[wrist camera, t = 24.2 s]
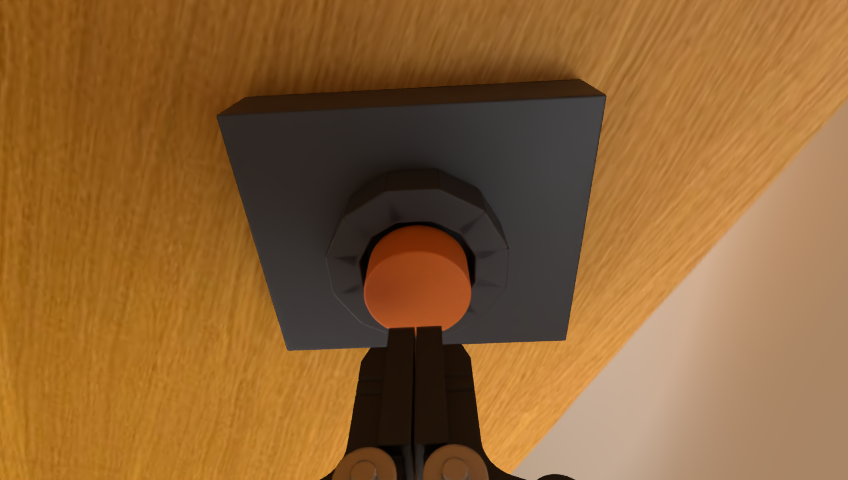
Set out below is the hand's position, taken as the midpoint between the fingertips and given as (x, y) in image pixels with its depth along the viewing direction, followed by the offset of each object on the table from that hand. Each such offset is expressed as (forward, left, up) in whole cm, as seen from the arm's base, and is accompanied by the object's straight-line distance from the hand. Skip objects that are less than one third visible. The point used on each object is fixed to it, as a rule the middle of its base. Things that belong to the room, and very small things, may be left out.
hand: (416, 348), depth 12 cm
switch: (0, 0, -4) cm, 4 cm away
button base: (0, 0, -8) cm, 8 cm away
